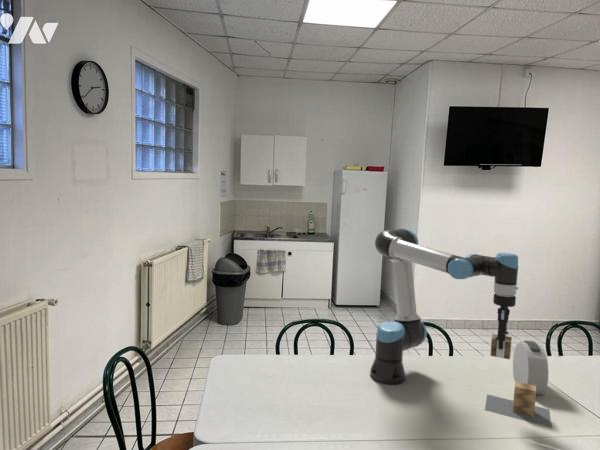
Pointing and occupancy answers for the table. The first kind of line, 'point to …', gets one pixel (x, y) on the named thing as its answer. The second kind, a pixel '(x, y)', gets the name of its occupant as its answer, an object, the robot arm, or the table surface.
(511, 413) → the slate mat
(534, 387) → the oak block upper
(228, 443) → the table surface
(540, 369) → the alarm clock
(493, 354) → the walnut cube
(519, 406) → the oak block lower
